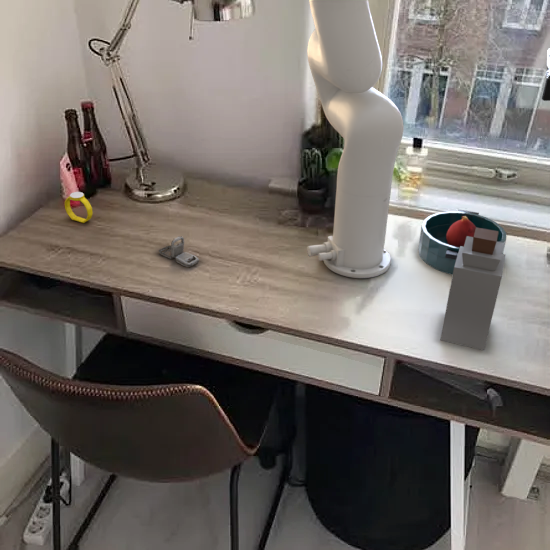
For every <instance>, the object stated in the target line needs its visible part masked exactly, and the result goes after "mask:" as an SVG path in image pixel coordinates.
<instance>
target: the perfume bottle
mask: <svg viewBox="0 0 550 550" xmlns="http://www.w3.org/2000/svg"><path fill="white" fill-rule="evenodd" d="M498 232H499V231H494V230H488V229H482V228H477V227H476V229H475V233H474V237H469V236H467V237H466V241H465V244H464V247H463V246H460V249H459V252H458V256H457V259H456V263H455V266H454V271H453V275H452V278H451V282H450V286H449V292H448V298H447V303H446V308H445V313H444V317H443V323H442V328H441V334H440V339H439V341H443V342H447V343H451V344H454V345H455V344H456V345H459V346H463V347H464V346H465V347H468V348H472V349H476V350H481V351H485V349H486V344H487V340H488V336H489V332H490V327H491V324H492V321H493V315H494V312H495V307H496V303H497V299H498V295H499V291H500V287H501V283H502V279H503V272H504V268H505V267H504V266H505V262H506V254H505V253H503V254H502V250H503V244H504V243H502V242H497V237H498Z"/></svg>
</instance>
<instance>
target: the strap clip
mask: <svg viewBox="0 0 550 550" xmlns="http://www.w3.org/2000/svg"><path fill="white" fill-rule="evenodd" d="M178 241H180V242H178ZM177 242H178V243H177ZM175 243H176V244H175ZM184 249H185V238H184V236H180V235H179V236H177V237H174V238H173V240H172V241H171V243H170V245H166V246H164V247H162V248H160V249H159V250H158V253H159V254H160V255H161V256H163V257H165V258H168V259H170V260H173V259H175V262H176V263H177V264H179V265H181V266H183V267H187V268H190V267H192V266H195V265H196V264H198V263H199V261H200V259H199V257H197V256H196V255H195V254H192V253H190V252H187V251H184Z"/></svg>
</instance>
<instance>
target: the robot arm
mask: <svg viewBox="0 0 550 550" xmlns="http://www.w3.org/2000/svg"><path fill="white" fill-rule="evenodd" d="M308 3H309V7H310V13H311V17H312V20H313V25H314V28H315V29H314V30H313V31H312V33H311V35H310V37H309V39H308V43H307V62H308V66H309V69H310V72H311V76H312V79H313V82H314V86H315V88H316V92H317V96H318V98H319V101H320V104H321V107H322V110H323V113H324V115H325V117H326V119H327V121H328V122H329V124H330V125H331V127H332V128H333V129H334V130H335V131H336V132H337V133H338V134H339V135H340V136H341V137H342V138H343V141H344V145H343V149H342V153H341V156H340V159H339V162H338V167H337V175H336V189H335V191H336V192H335V202H334V203H335V204H334V217H333V229H332V230H333V231H332V235H329V236H327V241H324V242H323V243H322V244H313V245H307V247H306V252H307V256H308V257H314V256H317V257H318V261H319V262H321V261H323V264H324V265H325V267H327V268H328V269H329V270H330V271H332V272H333V273H335V274H338V275H341V276H344V277H347V278H352V279H368V278H369V279H370V278H374V277H378V276H380V275H382V274H384V273H386V272H387V271H388V270H389V269H390V266H391V263H392V258H391V255H390V252H388V250H386V249H385V242H386V234H387V226H388V218H389V210H390V201H391V194H392V185H393V184H392V183H393V176H394V170H395V164H396V160H397V156H398V153H399V149H400V146H401V143H402V141H403V136H404V130H405V129H404V128H405V127H404V126H405V125H404V120H403V116H402V113H401V111H400V110H399V108H398V106H397V105H396V104H395V103H394V102H393V101H392V100H391V99H390V98H388V96H386V95H384V93H382V92H381V91H379V90H377V89H376V88H375V87H374V86H376V84H377V83H378V81H379V80H380V78H381V75H382V70H383V56H382V52H381V48H380V45H379V44H380V43H379V41H378V36H377V33H376V29H375V24H374V21H373V18H372V14H371V9H370V2H369V0H308ZM546 53H547V54H546V55H547V57H546V59H547V60H546V62H545V63H546V64H545V66H546V70H547V71H546V72H545V78H546V80H545V83H544V87H543V90H542V91H543V92H542V96H541V100H542V101H545V102H547V101H548V102H549V101H550V48H548V49H547V52H546Z"/></svg>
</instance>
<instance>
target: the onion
mask: <svg viewBox="0 0 550 550" xmlns="http://www.w3.org/2000/svg"><path fill="white" fill-rule="evenodd" d="M475 229H476V226H475V225H474V224H473V223H472V222H471V221H470V220H469V219H468V218H467V217H466V216H462V220H458V221H457V222H455V223H453V224H452V225H451V226H450V228H449V229H448V231H447V234H446V239H447V242H448V245H451V246H455V247H460V246H463V247H464V244H465V241H466V237H467V236H469V237H474V233H475Z"/></svg>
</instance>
